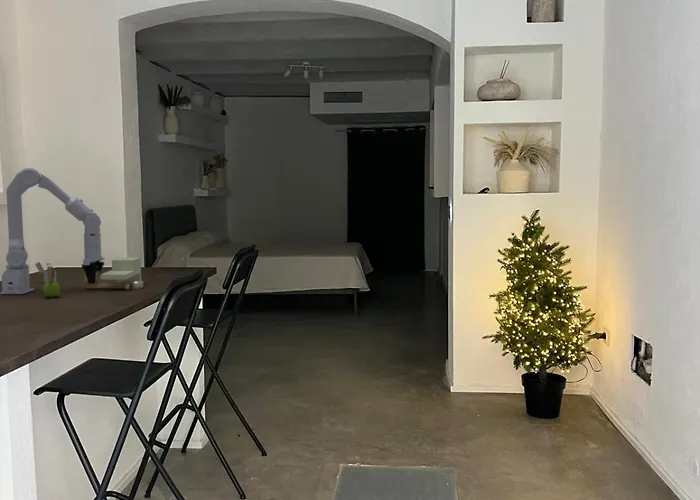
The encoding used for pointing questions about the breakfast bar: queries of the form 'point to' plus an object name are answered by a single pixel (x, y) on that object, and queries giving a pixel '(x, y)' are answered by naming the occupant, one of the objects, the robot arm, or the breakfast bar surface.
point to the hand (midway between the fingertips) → (93, 282)
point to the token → (136, 284)
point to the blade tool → (105, 283)
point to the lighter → (44, 272)
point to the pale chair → (124, 270)
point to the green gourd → (51, 284)
